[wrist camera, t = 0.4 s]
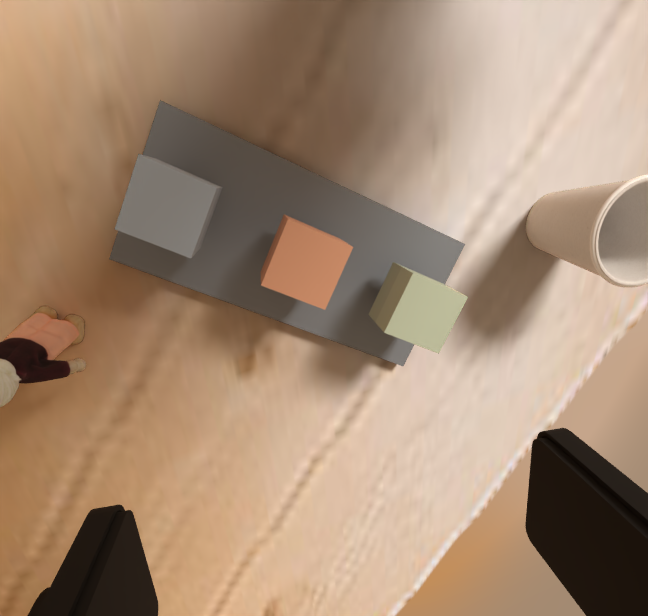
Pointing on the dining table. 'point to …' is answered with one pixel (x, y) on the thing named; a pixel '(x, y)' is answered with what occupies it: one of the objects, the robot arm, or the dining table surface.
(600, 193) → the dixie cup
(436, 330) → the button sage
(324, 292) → the button terracotta
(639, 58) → the dining table surface
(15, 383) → the grandmother figurine
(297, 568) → the dining table surface
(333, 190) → the button board
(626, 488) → the robot arm
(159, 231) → the button slate
